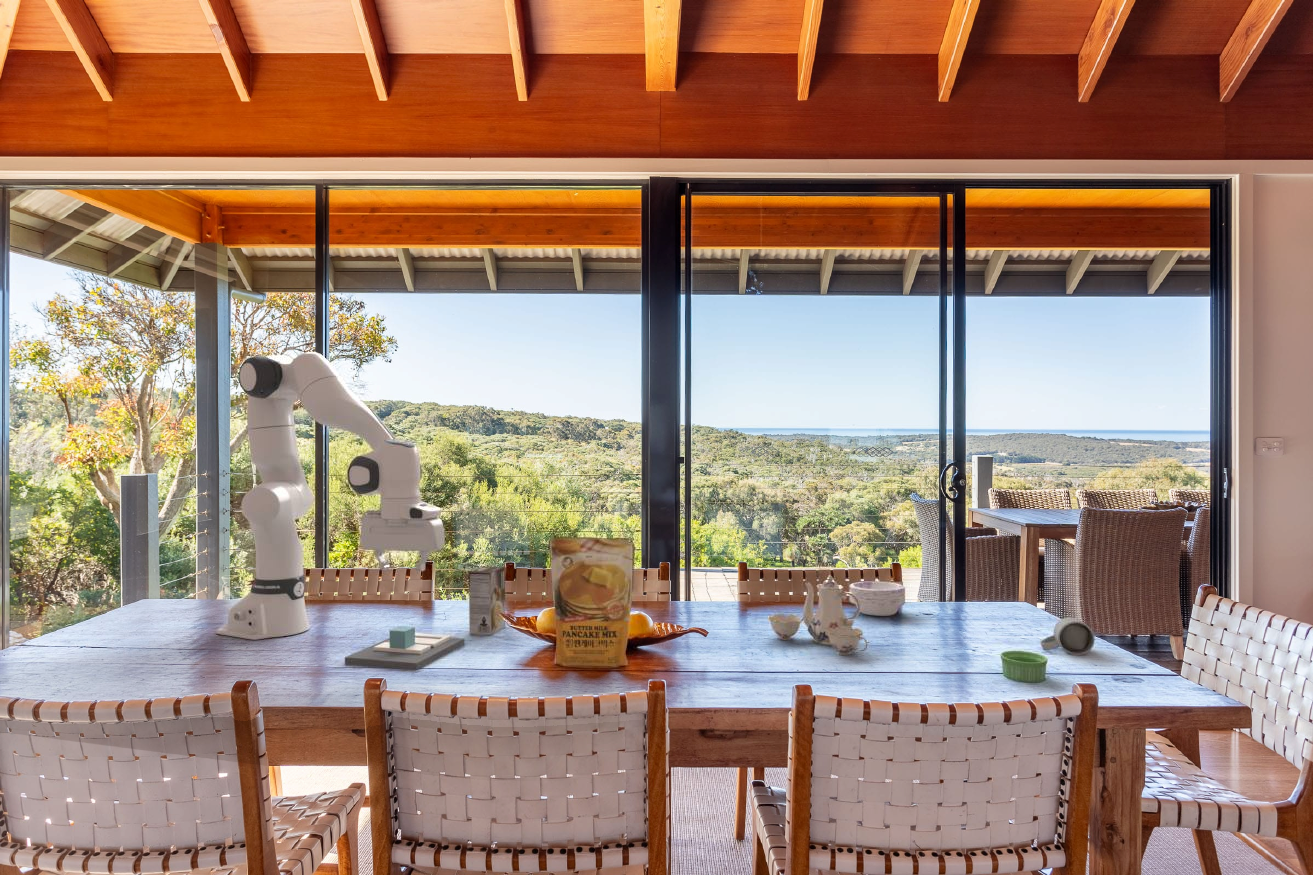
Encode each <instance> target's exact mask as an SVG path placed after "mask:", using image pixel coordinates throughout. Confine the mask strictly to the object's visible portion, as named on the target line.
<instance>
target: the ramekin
mask: <svg viewBox="0 0 1313 875" xmlns="http://www.w3.org/2000/svg"><path fill="white" fill-rule="evenodd" d="M1000 659H1001V665H1002V674H1003V676H1005V678H1007V679H1008V680H1009V679H1010V680H1013V681H1014V682H1015V681H1016V682H1020V683H1021V682H1022V683H1031V684H1032V683H1041V682H1043V681H1044V680H1045V679H1046V674H1047V672H1046V671H1047V664H1048V660H1049V658H1048V657H1046V656H1045V655H1043V654H1040V653H1037V652H1032V651H1024V650H1008V651H1002V652H1001V653H1000Z"/></svg>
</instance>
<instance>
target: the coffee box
mask: <svg viewBox="0 0 1313 875" xmlns="http://www.w3.org/2000/svg"><path fill="white" fill-rule="evenodd" d="M468 593H469V594H468V595H469V596H468V604H469V607H468V610H469V611H468V614H469V620H468V621H469V624H468V625H469V634H470V635H478V634H479V635H481V636H493V635H494V634H496V633H497V632H499V631H501V630H503V629H504V628H506V620H505V621H504V620H503V618H502V617H501V616H500V615H499V614H500V613H504V614H505V615H506V566H493V565H492V566H488V565H486V566H481V567H479V568H476V569H473V570H471V571H469V572H468ZM479 635H478V636H479Z"/></svg>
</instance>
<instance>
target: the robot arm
mask: <svg viewBox="0 0 1313 875" xmlns="http://www.w3.org/2000/svg"><path fill="white" fill-rule="evenodd" d="M238 381H239V385H240V387H241V389H242V390H243V392H244V393H245V394H246V395H247V396H248V398H247V407H246V423H247V425H246V426H247V434H248V444H249V445H248V446H249V452H250V454H249V455H250V459H251V460H250V461H251V462H252V463H253V465H254V466H255V467H256V469H257V471H258V474H259V477H260V479H261V482H262V483H260V484H257V485H256V486H254V487H253V488H251V489H250V490H249V491H247V492H246V493H245V495H244V496H243V498H242V499H241V512H242V514H243V516H244V517H245V519H246V520H247V521H248V523H249V526H250V530H251V533H252V537H253V541H254V546H255V564H256V565H255V575H256V576H255V578H253V579H252V580H248V581H246V583H247V584H246V586H247V587H248V586H251V588H250V591H249V593H248V594H246V595H245V596H244V597H243V598H241V599H240V600H239V601H238V602H237V603H235V604H234V605H232V607H230V609H229V612H228V614H227V624H226V625H223V626H221V627H219V628H218V629H217V630H216V634H218V635H223V636H228V637H236V638H241V639H247V640H255V641H256V640H262V639H268V638H278V637H284V636H287V637H288V636H291V635H296V634H300V633H303V632H306V631H308V630H310V629H311V625H310V621H309V618H308V614H307V608H306V603H305V602H306V601H305V590H306V575H305V574H304V545H303V543H302V541H301V540H300V537H299V534H298V530H297V526H296V520H298V519H301V518H302V517H303V516H305V515H306V514H307V513H308V511H310V510H311V509H312V507H313V505H314V501H315V499H314V498H315V496H314V495H315V494H314V492H313V489H311V487H310V486H309V484H308V482H307V478H306V477H305V473H304V470H303V467H302V463H301V460H300V457H299V451H298V442H297V434H296V426H295V418H294V410H293V409H294V405H295V403H296V402H297V401H298V400H299V401H300V402H301V404H302V406H303V408H304V410H305V411H306V412H307V413H308V415H309V416H310V417H311V418H312V419H313V420H314V421H316V423H318V424H320V425H322V426H325V427H328V428H333V429H338V430H343V431H345V432H349V433H351V434H355V435H356V436H359V437H360V438H362V439H363V440H364V441H365V442H366V444H368V445H369V447H370V448H371V449H372V450H371V451H369V452H367V453H364V454H361V455H357V456H355V457H354V458H353V459H352V460H351V461H350V463H349V465H348V467H347V472H346V473H347V474H346V475H347V476H346V477H347V481H348V484H349V486H350V488H351V489H352V491H354V492H355V493H356V494H358V495H364V496H371V495H373V496H375V495H380V509H367V510H366V511H365V512H363V513H362V515H361V527H360V536H359V537H360V538H359V545H360V547H361V549H362V550H363V551H374V557H375V558H376V559H377V561H378V563H379V564H378V565H379V566H378V567H379V570H380V571H385V570H386V571H387V570H389V569H390V561H389V560H387V559H386V557H385V555H384V554H386V551H395V552H400V551H401V552H418V553H419V554H418V556H420V559H419V561H418V562H416V563H415V571H416V572H424V571H425V570H426V563H427V561H428V559H429V557H430V552H433V553H434V552H438V551H441V550H442V549H443V548H444V546H445V542H446V540H445V529H444V528H445V527H444V524H443V521H442V520H441V518H439V517H441V515H442V509H441V507H438V506H436V505H433V504H430V503H428V502H426V501H422V494H421V491H420V482H421V480H422V477H423V476H422V474H423V470H422V469H423V468H422V464H421V460H420V453H419V449H418V446H417V445H416V444H415V443H414V442H412V441H411V440H407V439H398V438H397V437H396V436H395V435H394V434H393V433H392V431H391V430H390V429H389V428H388V427H387V425H386V424H385V423H384V422H383V420H382V418H380V416H379V415H378V414H377V413H376V412H375V411H374V410H373V409H371V408H370V407H369V406H368V405H366V404H365V403H364V402H363V401H362V400H360V398H358V396H357V395H355V393H354V392H353V391H352V390H351V389H350V388H349V386H348V385H347V383H346V382H345V380H344V379H343V378H342V376H341V375H340V373H339V371H337V370H336V368H335V367H334V366H333V365H332V364H331V362H330V361H329V360H328V359H327V358H325V356H324V355H322V354H321V353H319V352H315V351H306V352H303V353H301V354H297V355H295V354H282V355H281V354H278V355H277V354H275V355H262V354H261V355H254V356H251V357H247V358H246V359H245V360H244V361H243V362H242V363H241V365H240V367H239V370H238Z"/></svg>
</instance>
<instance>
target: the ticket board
mask: <svg viewBox="0 0 1313 875" xmlns="http://www.w3.org/2000/svg"><path fill="white" fill-rule="evenodd" d="M384 642H390V637H389V638H387V639H384V640H382V641H379V642H377V643H375V644H372V645H370V646H368V647H366V648H363V649H361V650H359V651H355V652H354V653H352V654H350V655H346V656H345V657H344V664H345V665H351V666H352V665H354V666H361V667H362V666H363V667H364V666H365V667H375V668H376V667H377V668H387V669H388V668H389V669H398V668H400V669H401V670H412V671H418V670H420V669H422V668H424V667H425V666H427V665H429V664H431V663H433V662H435V661H437V660H439V659H441V658H443V657H444V656H446V655H448V654H450V653H452V652H454V651H455V650H457V649H460V648H461V647H464V646H466V645H465V642H466V641H465V638H461V637H459V638H458V637H452V635H449V634H447V635H446V634H435V633H434V634H433V633H421V632H415V644H418V645H431V649H430V650H428V651H426V652H424V653H422V654H413V653H400V652H388V651H375V650H374V647H375V646H377V645H379V644H382V643H384ZM453 650H454V651H453Z"/></svg>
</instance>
